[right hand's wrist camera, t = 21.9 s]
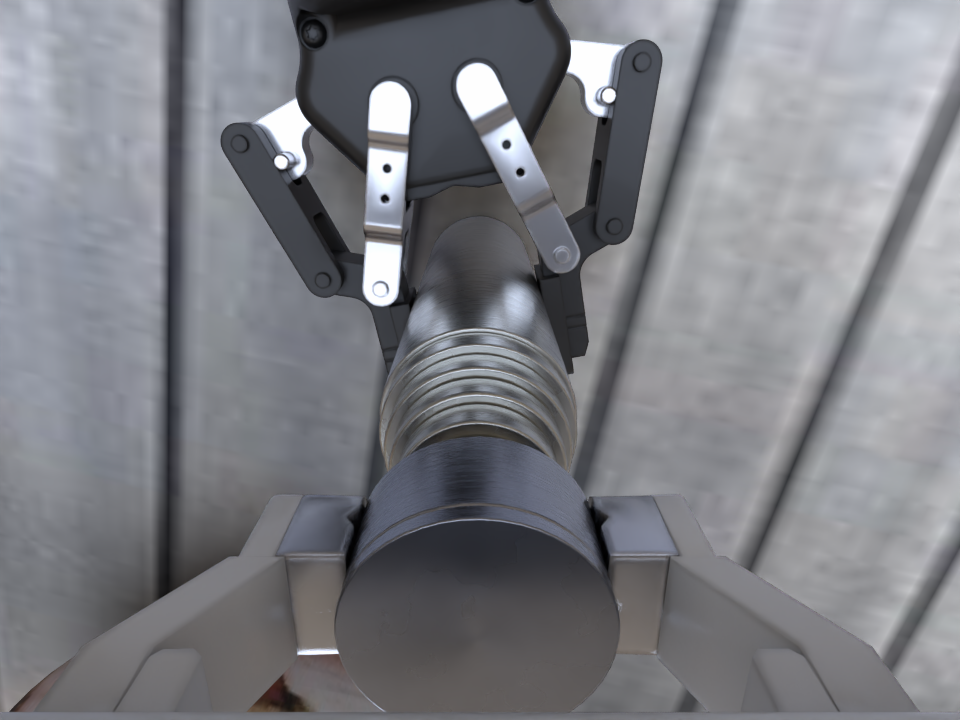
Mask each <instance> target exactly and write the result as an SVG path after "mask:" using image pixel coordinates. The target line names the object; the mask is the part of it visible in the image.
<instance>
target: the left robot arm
mask: <svg viewBox="0 0 960 720" xmlns="http://www.w3.org/2000/svg"><path fill="white" fill-rule="evenodd" d="M288 4H289V8H290V12H291V15H292V19H293V23H294V27H295V30H296V34H297V38H298V42H299V48H300V66H299V73H298V77H297V81H296V98H294V99H292V100H291V101H289V102H287V103H285V104H284V105H282V106H280V107H279V108H277V109H275V110H273V111H272V112H270V113H268V114H266V115H265V116H263V117H261V118H259V119H258V120H256V121H254V122H244V123H233V124H230V125H228V126H227V127H226V128H225V129H224V130H223V132H222V135H221V147H222V150H223V152H224V154H225V155H226V157H227V158H228V160H229V162H230V163H231V165H232V166H233V168H234V170H235V171H236V173H237V175H238V176H239V178H240V179H241V181H242V183H243V184H244V186H245V187H246V189H247V191H248V192H249V194H250V196H251V197H252V199H253V200H254V202H255V204H256V205H257V207H258V208H259V210H260V212H261V213H262V215H263V217H264V218H265V220H266V221H267V223H268V225H269V226H270V228H271V229H272V231H273V233H274V234H275V236H276V237H277V239H278V241H279V242H280V244H281V246H282V247H283V249H284V250H285V252H286V254H287V255H288V257H289V258H290V260H291V262H292V263H293V265H294V267H295V268H296V270H297V271H298V273H299V275H300V276H301V278H302V279H303V281H304V283H305V284H306V286H307V288H308V289H309V290H310V291H311V292H312V293H313V294H314V295H316V296H319V297H323V298H327V297H331V296H333V295H339V296H346V297H352V298H356V299H359V300H361V301H363V302H364V303H365V304H366V305H367V306H368V307H369V308H370V310H371V312H372V315H373V318H374V322H375V326H376V330H377V334H378V337H379V341H380V345H381V349H382V353H383V356H384V360H385V364H386V368H387V372H388V375H389V373H390V370H391V367H392V364H393V361H394V358H395V356H396V353H397V350H398V347H399V344H400V341H401V338H402V335H403V333H404V330H405V327H406V324H407V321H408V318H409V315H410V312H411V309H412V307H413V304H414V301H415V298H416V295H417V294H416V289H415V287H412V288H408V284H407V280H406V274H407V263H408V251H409V239H410V229H411V223H412V217H413V207H414V200H417V199H422V198H428V197H431V196H433V195H435V194H437V193H439V192H441V191H443V190H445V189H447V188H449V187H451V186H468V187H484V186H489V185H494V184H499V183H503V184H504V186H505V187H506V189H507V191H508V193H509V195H510V197H511V199H512V201H513V203H514V205H515V207H516V209H517V211H518V213H519V214H520V216H521V218H522V220H523V222H524V224H525V226H526V228H527V230H528V231H529V233H530V235H531V237H532V239H533V241H534V243H535V245H536V247H537V251H538V258H539V265H534V268H535V274H536V280H537V284H538V287H539V290H540V293H541V296H542V299H543V302H544V305H545V308H546V311H547V314H548V317H549V320H550V323H551V326H552V329H553V332H554V335H555V338H556V341H557V344H558V347H559V350H560V353H561V356H562V359H563V362H564V365H565V368H566V371H567V374H573V373H574V372H573V363H572V358H574V357H580V356H585V353H586V350H587V346H588V342H589V340H588V333H587V326H586V318H585V310H584V303H583V296H582V288H581V281H580V270H581V267H582V264H583V263H584V261H585V260H586V259H587V257H589V256H590V255H591V254H593V253H594V252H596V251H598V250H600V249H601V248H603V247H605V246H607V245H608V244H609V245H616V244H620V243H622V242H624V241H625V240H626V239H627V238H628V237H629V236H630V234H631V232H632V229H633V224H634V219H635V213H636V207H637V202H638V196H639V191H640V185H641V179H642V174H643V168H644V162H645V157H646V151H647V146H648V140H649V134H650V129H651V123H652V118H653V112H654V106H655V101H656V95H657V89H658V84H659V78H660V73H661V67H662V54H661V51H660V49H659V47H658V46H657V45H656V44H655V43H654V42H652V41H650V40H644V39H643V40H637V41H633V42H630V43H628V44H626V45H618V44H608V43H598V42H588V41H578V40H570V38H569V34H568V32H567V30H566V28H565V26H564V25H563V23H562V22H561V21H560V19H559V18H558V16H557V15H556V13H555V12H554V10H553V8H552V6H551V3H550V1H549V0H288ZM565 75H568V76H570V77H572V78H573V79H574V80H575V81H576V82H577V83H578V85H579V88H580V93H581V104H582V107H583V109H584V110H585V111H586V112H587V113H588V114H589V115H591V116H594V117H598V123H597V129H596V136H595V143H594V150H593V156H592V163H591V170H590V177H589V183H588V190H587V197H586V204H585V207H584V208H582V209H581V210H579V211H577V212H575V213H574V214H572V215H570V216H569V217H567V218H564V216H563V214H562V212H561V210H560V208H559V206H558V204H557V201H556V199H555V196H554V194H553V192H552V190H551V188H550V186H549V184H548V182H547V179H546V177H545V175H544V173H543V171H542V169H541V167H540V165H539V163H538V161H537V159H536V157H535V155H534V153H533V151H532V149H531V146H532V144H533V142H534V140H535V138H536V136H537V133H538V131H539V129H540V127H541V125H542V123H543V121H544V119H545V117H546V114H547V112H548V110H549V108H550V106H551V104H552V102H553V100H554V98H555V95H556V93H557V91H558V89H559V87H560V85H561V83H562V81H563V79H564V76H565ZM314 128H315V129H316V130H317V131H318V132H319V133H321V134H322V135H323V136H324V137H325V138H326V139H327V140H328V141H329V142H330V143H331V144H333V145H334V146H335V147H336V148H337V149H338V150H339V151H340V152H341V153H342V154H343V155H344V156H346V157H347V158H348V159H349V160H350V161H351V162H352V163H353V164H354V165H355V166H356V167H358V168H359V169H360V170H361V171H362V172H363V173H364V174H365V175H366V192H365V209H364V234H365V253H364V255H363V254H357V253H350V251H349V249H348V248H347V246H346V244H345V242H344V241H343V239H342V237H341V236H340V234H339V232H338V230H337V229H336V227H335V225H334V223H333V222H332V220H331V218H330V217H329V215H328V213H327V211H326V210H325V208H324V206H323V205H322V203H321V201H320V199H319V198H318V196H317V194H316V193H315V191H314V189H313V187H312V186H311V184H310V182H309V180H308V179H307V177H306V174H308V173H309V172H310V170H311V169H312V167H313V161H314V160H313V154H312V151H311V149H310V145H309V137H310V134H311V132H312V130H313V129H314Z"/></svg>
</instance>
